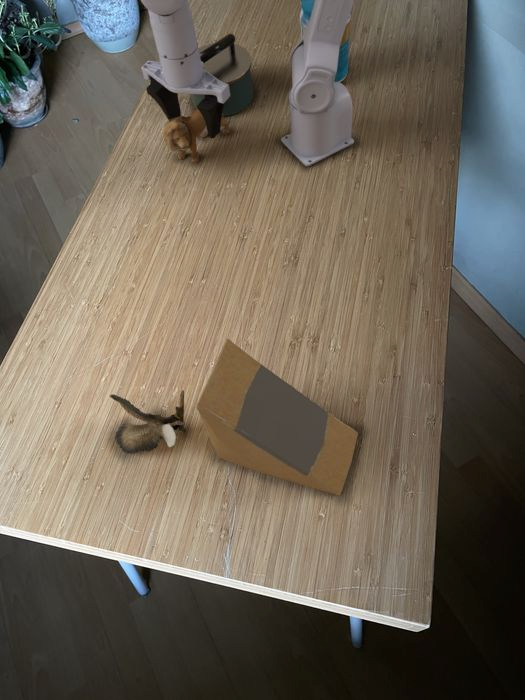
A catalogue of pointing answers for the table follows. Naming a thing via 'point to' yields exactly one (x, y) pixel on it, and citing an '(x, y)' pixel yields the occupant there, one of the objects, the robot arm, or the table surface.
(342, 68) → the beverage bottle
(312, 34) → the robot arm
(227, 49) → the green lidded pot
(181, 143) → the lion figurine
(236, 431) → the sandwich container
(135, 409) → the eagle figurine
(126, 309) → the table surface
